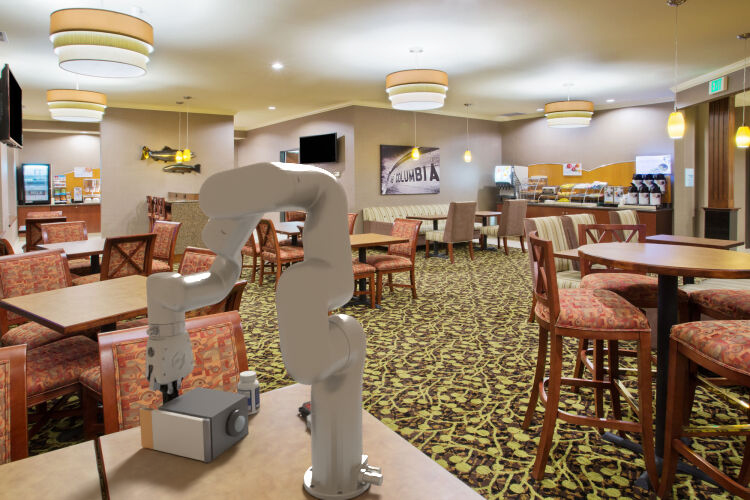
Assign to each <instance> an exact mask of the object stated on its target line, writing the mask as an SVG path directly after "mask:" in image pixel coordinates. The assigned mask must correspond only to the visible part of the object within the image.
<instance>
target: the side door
mask: <svg viewBox="0 0 750 500" xmlns="http://www.w3.org/2000/svg"><path fill="white" fill-rule="evenodd" d="M139 423H140V424H139V425H140V439H141V441H140V442H141V448H145V449H150V450H156V451H160V452H164V453H168V454H173V455H175V456H176V455H177V456H181V457H186V458H189V459H194V460H199V461H202V462H203V463H207V464H208V463H211V462H212V461H213V460H212V459H211V434H210V419H203V418H198V417H193V416H187V415H182V414H177V413H172V412H167V411H162V410H158V408H157V409H156V408H152V407H146V406H142V407H140V408H139Z"/></svg>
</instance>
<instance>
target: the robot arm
mask: <svg viewBox="0 0 750 500" xmlns="http://www.w3.org/2000/svg"><path fill="white" fill-rule="evenodd" d="M348 204H349V203H348V197H347V193H346V190H345V188H344V186H343V184H342V183H341V181H339V179H338V177H336V176H335V175H333V174H332V173H331V172H329V171H327V170H324V169H322V168H320V167H316V166H313V165H312V166H311V165H309V164H297V163H288V162H287V163H286V162H277V161H275V162H274V161H263V162H258V163H252V164H248V165H243V166H240V167H236V168H231V169H227V170H223V171H220V172H219V171H218V172H215V173H213V174H211V175H209V177H207V178H205V180H204V182H203V183H202V184H201V186H200V188H199V193H198V205H199V207H200V210H201V211H202V213H203V214H204V215H206V216H207V218H208V221H207V222H206V224H205V225H204V227H203V228H202V231H201V240H202V242H203V244H204V246H206V247H207V249H209V250H210V251H211V252H212V253H214V254H216V257H215V259H214V260H213V262H212V264H211V266H210V267H209V268H208V270H206V271H200V272H196V273H190V274H185V275H184V274H183V275H182V274H180V273H178V272H174V271H171V272H170V271H167V272H166V271H163V272H156V273H152V274H149V276H147V278H146V281H145V282H146V283H145V286H146V287H145V288H146V303H147V304H146V305H147V324H148V325H147V326H148V329H146V331H145V333H146V335H147V336H148V337H147V339H146V340H147V341H146V347H145V358H144V359H145V360H144V361H145V362H144V363H145V369H144V370H145V377H146V381H147V383H149V385H148V390H149V391H154V392H155V391H159V393H161V394H162V395H161V396H162V405H163V404H165V403H167V402H169V401H171V400H173V399H175V398H177V397H178V396H180V395H179V392H180V390H181V388H182V382H183V380H184V379H185V378H187V376H189V375H190V374H191V373H192V372H193V371H194V354H193V345H192V340H191V337H190V333H189V331H188V330H187V329H186V328H187V327H186V312H189V311H193V310H197V309H200V308H203V307H208V306H212V305H215V304H218V303H220V302H221V301H223V300H224V299H225V298H226V297H227V296H228V295H229V294H230V292H232V290H233V288H234V287H235V285H236V284H237V282H238V280H239V278H240V276H241V272H242V270H243V269H242V268H243V257H242V250H243V249H244V247H245V245H246V244H247V242H248V240H249V239H250V237H251V236H252V234H253V233H254V231H255V229H256V228H257V226H258V224H259V223H260V222H261V220H262V218H263V216H264V215H265V214H267V213H268V214H269V213H282V212H283V213H284V212H298V211H299V212H304V213H306V217H305V220H304V223H303V227H302V234H301V235H302V236H301V237H302V245H303V261H298V262H296V263H293V264H291V265H290V266H288V267H287V268H286V269H285V270H283V272H282V273H281V275H280V276H279V278H278V281H277V283H276V288H275V309H276V318H277V327H278V337H279V348H280V354H281V360H282V363H283V366H284V368H285V370H286V372H287V373H288V375H289V376H290V377H291V379H293V380H294V381H295V382H296V383H298V384H301V385H305V386H310V401H311V430H310V441H311V442H310V443H311V444H310V445H311V466H310V467H309V468H307V470H306V471H305V473H304V475H303V486H304V490H305V491H306V492H307V493H308V494H309V495H311V496H313V497H314V498H316V499H320V500H349V499H353V498H356V497H358V496H359V495H362V494H363V493H364V492H365V491H367V489H369V487H370V485H374V486H378V487H381V486H382V485H383V482H384V475H383V474H382V473H381V472H382V468H381V467H380V466H371V465H370V464H369V462H368V455H364V454H363V452H364V451H363V446H364V445H363V440H364V439H363V379H364V368H365V362H366V355H367V335H366V331H365V330H364V328H363V325H362V324H361V322H360V321H358V320H357V319H356V318H355V317H354V316H351V315H349V314H345V313H337V314H331V315H329V312H331V311H334V310H336V309H339V308H341V307H343V306H344V305H346V304H347V303H349V302H350V301H351V299H352V298H353V296H354V294H355V274H354V266H353V265H354V264H353V255H352V254H353V252H352V245H351V242H352V241H351V237H350V236H351V235H350V226H349V205H348Z"/></svg>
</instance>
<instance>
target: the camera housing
mask: <svg viewBox="0 0 750 500" xmlns="http://www.w3.org/2000/svg"><path fill="white" fill-rule="evenodd" d="M157 410H162V411H167V412H172V413H177V414H182V415H187V416H193V417H198V418H203V419H210V434H211V459H212V461H213V460H215V459H216V458H217V457H219V456H220V455H222V454H223V453H224V452H226V451H227V450H229V449H230V448H231V447H232V446H234V445H235V444H236V443H238V442H239V441H241V439H244V437H246V436H247V435H249V415H248V399H247V395H243V394H237V393H236V392H231V391H226V390H225V391H223V390H218V389H212V388H207V387H201V386H196V387H194V388H192V389H190V390H188V391H186V392H185V393H183V394H181V395H179V396H178V397H177V398H175V399H173V400H171V401H169V402H167V403H165V404H163V403H162V404H161V405H159V406H158V407H157Z"/></svg>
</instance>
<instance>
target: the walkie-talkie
mask: <svg viewBox="0 0 750 500" xmlns="http://www.w3.org/2000/svg"><path fill="white" fill-rule="evenodd" d="M297 410H298V411H297V412H299V413H300V414H301V415H302V417H304V418H305V419H306V428H308V429H309V431H311V400H309V401H306V402H303V404H302V405H301V406H300V407H298V409H297Z"/></svg>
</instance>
